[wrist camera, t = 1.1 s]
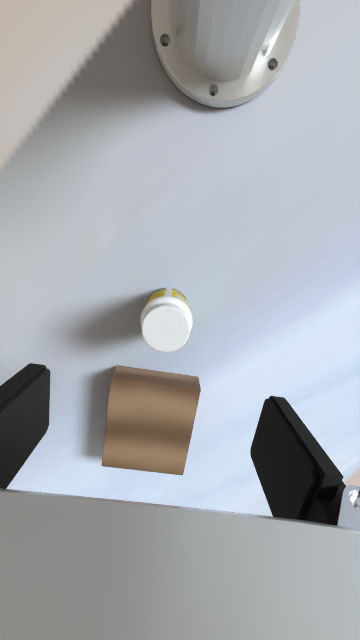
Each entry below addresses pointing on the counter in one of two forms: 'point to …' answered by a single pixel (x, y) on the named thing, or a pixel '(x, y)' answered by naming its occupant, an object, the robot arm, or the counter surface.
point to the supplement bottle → (166, 320)
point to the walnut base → (149, 420)
